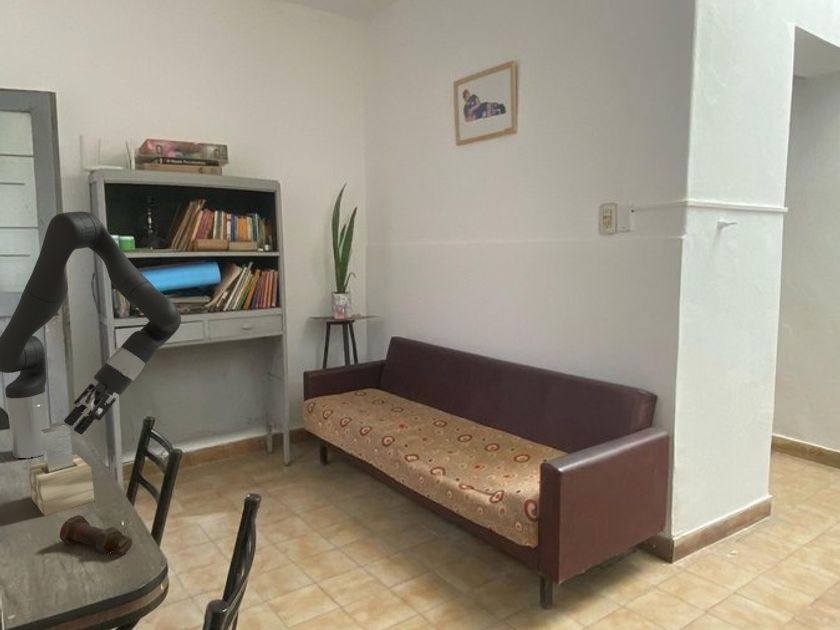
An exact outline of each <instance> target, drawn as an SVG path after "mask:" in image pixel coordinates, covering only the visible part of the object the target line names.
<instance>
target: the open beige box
mask: <svg viewBox="0 0 840 630" xmlns="http://www.w3.org/2000/svg"><path fill="white" fill-rule="evenodd" d="M73 462H74V467H72V468H68V469H64V470H60V471H56V472H52V473H48V474H46V468H45V461H44V462H41V463H36V464H35V463H34V464H32V465H28V476H29V485H30V492H31V500H32V501H33V502H34V504H35V505H36V506H37V508H38V509H39V510H40V511H41V513H42V515H43V516H44V517H46V516H49V515H53V514H56V513H59V512H62V511H65V510H69V509H72V508H75V507H78V506H79V507H80V506H81V505H86V504H89V503H92V502H95V492H94V491H95V490H94V484H93V483H94V481H93V471H92V467H91V466H90V465H89V464H88V463H87V462H86V461H85V460H83V459H82V458H81V457H80V456H79V455H78V454H73Z"/></svg>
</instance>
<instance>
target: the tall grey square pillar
mask: <svg viewBox="0 0 840 630" xmlns="http://www.w3.org/2000/svg"><path fill="white" fill-rule="evenodd" d="M41 435H42V443H43V452H44V455H43V459H44V462H45V468H46V474H48V473H52V472H56V471H60V470H64V469H68V468H72V467H74V462H73V455H74V454H73V445H72V444H73V443H72V438H71V437H72V436H71V428H70V427H69V425H68V424H64V425H58V426H53V427H50V428H48V429H43V430H41Z"/></svg>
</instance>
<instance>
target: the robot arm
mask: <svg viewBox="0 0 840 630" xmlns="http://www.w3.org/2000/svg"><path fill="white" fill-rule="evenodd" d="M85 248H88V249H90V250H91V251H92V252H94V253H95V254H96V255H97V256H99V258H100V259H101V260H102V262H103V263H104V265H105V268H106V270H107V273H108V277H109V280H110V282H111V284H112V285H113V287H114V288H115V289H116V290H117V292H119V294H120V295H121V296H122V297H124V299H125V300H126V301H128V303H130V305H132V306H133V307H135V308H137V309H138V310H139V312H141V314H142V315H143V316H145V318H146V319H147V320H148V322H147V323H146V324H145V325H144V326H143V327H142V328H141V329H140V330H136V331H134V332H132V334H130V335H129V336H128V337H127V338H126V340H125V341H124V342H123V344H122V345H120V347H119V348H118V349H117V350H116V351H115V352H114V353H113V354H112V355H111V356H110V357H109V358H108V359H107V360H106V362H105V363H104V364H103V365H102V366H101V367H100V369H99V370H98V371H97V372H96V373H95V374H94V376H93V379H94V380H95V381H96V382H97V384H96V385H94V384H93V383H90V384H88V386H87V387H86V388H85V389H84V390H83V391H82V393H81V394H80V395H79V396H78V397H77V398H76V400H74V401H73V408H72V410H70V412H69V413H68V414H67V416H66V417H65V418H64V419H63V422H64V423H65V425H67V426H70V427H73V431H74V432H76V433H77V434H79V435H83V434H84V433H85V432H86V430H87V429H88V428H89V427H90V426H91V425H92V424H93V422H96V421H98V422H99V421H100V420H102V418H103V417H104V416H105V414H107V412H108V411H109V410H110V408H112V406H113V404H114V403H115V402H116V401H117V398H116V397H115V396H113V395H114V394H117V395H118V396H121V395H123V394H124V393H125V391H126V390H127V389H128V388H129V386H130V385H131V384H132V383H133V382H134V380H136V378H137V377H138V376H139V374H140V373H141V371H142V370H143V369H144V367H145V365H146V364H147V363H148V362H149V360H150V359H151V358H152V357H153V356H154V354H155V353H156V352H157V350H158V349H160V347H162V346H163V345H164V344H166V342H167V341H168V340H170V339H171V338H172V337H173V336H174V335H175V333H176V332H177V331H178V330H179V328H180V326H181V325H182V316H181V314H180V312H179V310H178V307H177V305H175V303H174V302H172V301H171V300H170V299H169V298H168V297H167V295H165V294H163V292H161V291H160V290H158V289H157V288H156V287H155V286H154V284H153V283H151V281H149V279H148V278H146V276H145V275H144V274H143V273H142V272H141V271H139V269H137V267H136V266H135V265H134V264H133V263H132V262H131V260H130V259H129V258H128V256H127V255H126V254H125V252H123V250H122V249H121V247H120V246H119V244H118V243H117V241H116V240H115V238H113V236H112V234H110V232H109V230H108V229H107V228H106V226H105V225H104V224H103V222H101V220H100V219H99V218H98V217H97V216H96V215H95V214H93V213H91V212H90V211H83V210H82V211H68V212H67V211H66V212H61V213H58V214H56V215H54V216H53V217H52V218H51V219H50V222H49V224H48V225H47V228H46V231H45V235H44V238H43V241H42V245H41V248H40V251H39V255H38V258H37V260H36V262H35V265H34V267H33V269H32V271H31V275H30V277H29V278H28V280H27V283H26V285H25V287H24V289H23V291H22V294H21V296H20V299H19V302H18V304H17V306H16V308H15V310H14V311H13V313H12V316H11V318H10V320H9V321H8V324H7V325H6V327H5V328H4V330H3V332H2V333H1V335H0V372H1V373H6V374H10V373H12V374H13V373H18V372H19V375H18V376H17V377H16V378H15V379H14V380H13V381H12V382H10V383H9V384H7V385H6V386H5V389H4V392H5V399H6V400H5V402H6V408H7V414H8V422H9V423H8V424H9V431H10V440H11V448H12V455H13V456H14V457H15V458H14V457H13V458H14V459H18V458H26V459H31V457H33V458H37V457H40V456H44V452H43V443H42V435H41V430H43V429H48V428H51V427H50V420H49V418H50V417H49V411H48V409H49V408H48V402H47V395H46V394H47V393H46V384H47V365H46V364H47V363H46V360H47V359H46V351H45V348H44V344H43V343H42V340H41V339H39V337H37V336H35V335H34V334H35V333H36V332H38V331H39V330H40V329H41V328H42V327H44V326H45V325H47V323H49V322H50V321H51V320H52V319H53V318H54V317H55V316H56V315H57V313H58V312H59V311H60V309H61V308H62V305H63V303H64V302H65V299H66V298H67V297H66V296H67V295H68V289H69V285H68V280H67V276H66V273H65V268H66V266H67V263H68V261H69V259H70V257H71V256H72V253H73V252H75V251H76V250H79V249H80V250H81V249H85ZM84 412H85V414H84V415H83V413H84ZM82 415H83V416H82ZM81 416H82V417H81ZM80 418H81V419H80ZM79 419H80V420H79ZM78 420H79V421H78ZM77 421H78V422H77ZM76 422H77V424H76V425H75V426H74V424H75V423H76Z"/></svg>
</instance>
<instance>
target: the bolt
mask: <svg viewBox="0 0 840 630" xmlns="http://www.w3.org/2000/svg"><path fill="white" fill-rule="evenodd" d="M59 539H60V540H61V541H62V542H63V543H64V544H65V545H67V546H71V547H72V546H73V545H75V544H77V543H78V542H79V543H80V542H81V543H84V544H88V545H90V546H94V547H96V549H97V550H98V551H99V552H100V553H101V554H103V553H104V555H109V554H111V553H117V554H119V555H123V554H126V553H127V552H128V551H130V550H131V547H132V545H133V539H132V537H130V536H129V535H128V536H127V535H124V534H123V533H122V532H121V531H120V530H119V528H117V527H114V526H110V527H108V528H105V529H103V528H101V527H96V526H94V525H91V524H90V522H89V521H88V520H87V519H86V518H85V517H84V515H80V514H78V515H77V514H76V515H74V516H72V517H70V518H68V519H67V520H66V521H64V523H63V524H62V526H61V528H60V530H59ZM76 542H77V543H76ZM74 543H75V544H74ZM112 551H113V552H112ZM110 552H111V553H110ZM108 553H109V554H108Z"/></svg>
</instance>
